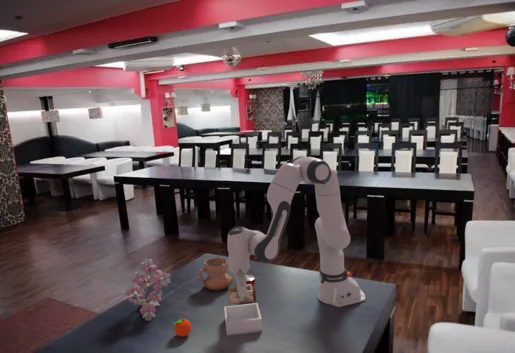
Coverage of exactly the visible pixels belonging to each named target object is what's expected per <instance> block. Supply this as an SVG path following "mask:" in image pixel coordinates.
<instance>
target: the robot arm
mask: <svg viewBox="0 0 515 353" xmlns="http://www.w3.org/2000/svg"><path fill="white" fill-rule="evenodd" d="M302 182H306V183H313V184H314V190H315V191H314V192H315V202H316V209H317V213H318V215H319V217H317V219H316V220H315V223H314V228H315V232H316V237H317V245H318V249H319V260H320V261H319V262H320V268H319V273H318V274H319V277H318V278H319V282H320V283H319V289H318V294H317V299H318V300H319V301H320V302H321V303H324V304H326V305H331V306H334V307H336V308H341V307H344V306H349V305H353V304H357V303H361V302H365V301H366V295H365V293H364V292H363V290H362V289H361V288H360V286H359V284H358V282H357V281H356V280H355V279H354V278H352V273H351V271H348V270H347V269H346V268H345V255H344V251H343V250H344V249H345V248H347V247H348V246H349V244H350V242H351V234H350V232H349V230H348V225H347V222H346V219H345V216H344V211H343V206H342V200H341V199H342V198H341V191H340V189H341V188H340V183H339V179H338V176H337V173H336V170H334V169H333V168H331V167H330V165H329V163H328V162H327V161H326V160H324V159H322V158H316V157H313V156H304V155H303V156H297V157H295V158H293V159H292V160H291V162H286V163H285V162H284V163H283V164H282V165H280V167H279V168H278V170H277V171H276V173H275V174H274V176H273V178H272V180H271V182H270V184H269V186H268V189H267V192H266V199H267V202H268V204H269V205H270V208H271V210H272V219H271V221H270V224H269V228H268V230H267V232H266V234H265V233H264V232H261V231H260V230H257V229H256V230H255V229H254V230H252V229H248V228H246V227H244V226H235V227H233V228H231V229H230V230H229V231H228V234H227V240H226V242H227V251H228V259H227V260H228V265H229V268H228V271H229V272H230V273H231V274H232V275H233V276H234V280H235V286H236V287H237V293H238V296H239V298H240V301H243V300H244V296H246V295H247V287H246V278H245V275H247V273H248V272H249V271H250V269H251V266H250V265H251V264H250V257H251V256H252V255H253V256H255V258H256V259H258V261H259V262H261V263H263V264H269V263H271V262H273V261H274V260H276V259H277V258H278V255H279V253H280V249H281V242H282V237H283V235H284V233H285V229H286V227H287V224H288V221H289V217H290V214H291V204H292V200H293V197H294V196H295V193H296V190H297V188H298V187H299V185H300V183H302Z"/></svg>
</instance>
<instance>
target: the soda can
mask: <svg viewBox="0 0 515 353" xmlns="http://www.w3.org/2000/svg"><path fill="white" fill-rule="evenodd" d="M245 278H246V285H249V284H251V285H252V289H253V302H246V303H245V304H252V303H256V301H257V282H256V277H255V276H254V275H253V274H245Z"/></svg>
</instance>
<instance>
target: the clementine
mask: <svg viewBox="0 0 515 353" xmlns="http://www.w3.org/2000/svg"><path fill="white" fill-rule="evenodd" d="M173 327H174V332H175V334H176V335H177V336H178V337H183V338H184V337H187V336H188V335H189V334H190V333H191V330H192V324H191V322H190V321H189V320H188V319H186V318H181V319H179V320H177V321H176V322H174V323H173V325H172V327H171V328H173Z"/></svg>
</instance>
